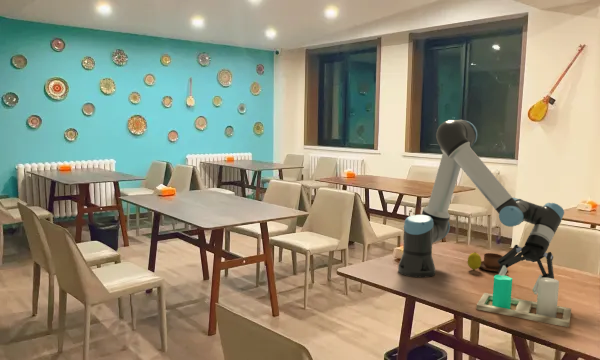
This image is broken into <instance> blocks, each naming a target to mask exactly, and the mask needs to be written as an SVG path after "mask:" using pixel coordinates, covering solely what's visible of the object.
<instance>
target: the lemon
mask: <svg viewBox="0 0 600 360" xmlns="http://www.w3.org/2000/svg"><path fill="white" fill-rule="evenodd" d="M481 262H482V257H481V255H480V254H479V253H477V252H475V251H474V252H472V253H470V254H469V255H468V257H467V266H468V267H469V269H472V271H476V270H477V269H480V266H481Z"/></svg>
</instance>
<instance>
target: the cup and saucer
mask: <svg viewBox="0 0 600 360" xmlns="http://www.w3.org/2000/svg"><path fill="white" fill-rule="evenodd" d="M483 255H484V256H483V260H481V266H480V267H479V269H483V270H484V271H488V272H497V273H498V270H499V268H500V265H499V263H498V262H497V261H498V260H499V259H500V258H501V257H503V255H501V254H499V253H492V252H491V253H489V252H488V253H484V254H483ZM508 268H509V267H507V269H508Z"/></svg>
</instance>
